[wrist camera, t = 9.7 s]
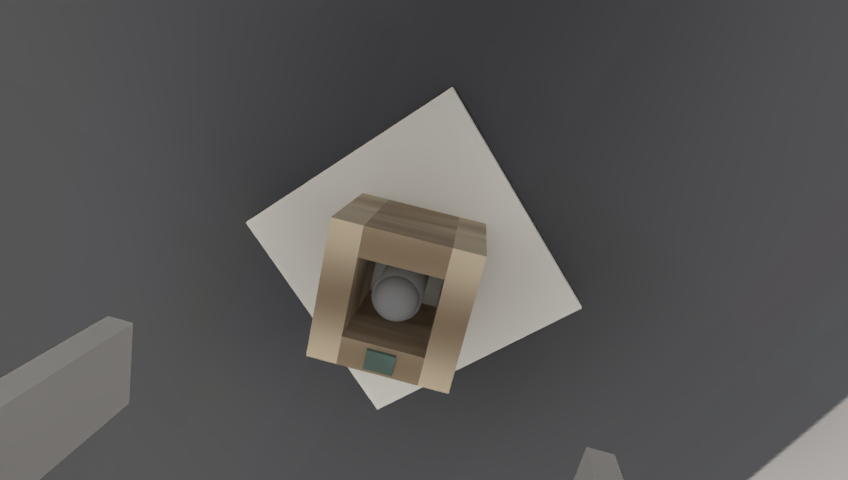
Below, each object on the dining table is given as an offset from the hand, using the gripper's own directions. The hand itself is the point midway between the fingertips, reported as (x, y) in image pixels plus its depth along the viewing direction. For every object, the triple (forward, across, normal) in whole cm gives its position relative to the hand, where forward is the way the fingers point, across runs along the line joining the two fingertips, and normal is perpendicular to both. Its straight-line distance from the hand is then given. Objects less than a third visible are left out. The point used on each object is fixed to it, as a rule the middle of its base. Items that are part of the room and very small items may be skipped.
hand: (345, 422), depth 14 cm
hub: (+16, 0, 0) cm, 16 cm away
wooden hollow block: (+15, 0, -1) cm, 15 cm away
